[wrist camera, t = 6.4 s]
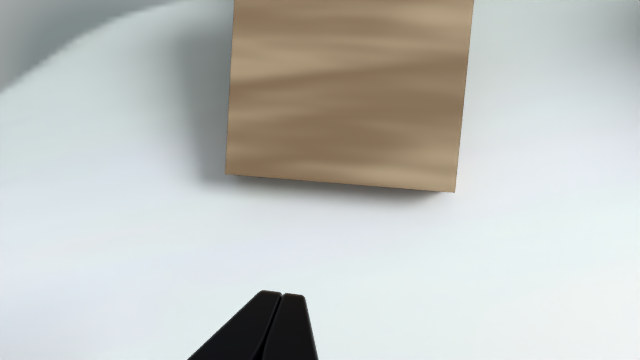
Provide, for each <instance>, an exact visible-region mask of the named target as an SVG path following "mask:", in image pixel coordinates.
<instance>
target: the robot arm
mask: <svg viewBox="0 0 640 360" xmlns="http://www.w3.org/2000/svg"><path fill="white" fill-rule="evenodd" d="M187 360H318V355H317V351H316V346H315V341H314V337H313V332H312V327H311V323H310V318H309V314H308V309H307V304H306V300H305V297H304V296H303V295H298V294H290V293H285V294H284V295H282V294H281V293H280V292H274V291H266V290H262V291H260V292H259V293H257V294H256V295H255V296H254V297H253V298H252V299H251V300H250V301H249V302H248V303H247V304H246V305H245V306H244V307H243V308H242V309H240V310H239V311H238V312H237V313H236V314H235V315H234V316H233V317H232V318H231V319H230V320H229V321H228V322H227V323H226V324H225V325H223V326H222V327H221V328H220V329H219V330H218V331H217V332H216V333H215V334H214V335H213V336H212V337H211V338H210V339H209V340H208V341H206V342H205V343H204V344H203V345H202V346H201V347H200V348H199V349H198V350H197V351H196V352H195V353H194V354H193V355H192V356H191V357H189V358H188V359H187Z"/></svg>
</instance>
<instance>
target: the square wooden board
mask: <svg viewBox="0 0 640 360" xmlns="http://www.w3.org/2000/svg"><path fill="white" fill-rule="evenodd" d="M473 4H474V0H234V17H233V36H232V54H231V73H230V92H229V110H228V129H227V148H226V166H225V174H231V175H243V176H255V177H268V178H280V179H293V180H305V181H317V182H330V183H342V184H355V185H367V186H379V187H392V188H404V189H417V190H429V191H441V192H454V193H455V186H456V176H457V166H458V156H459V146H460V136H461V126H462V115H463V105H464V95H465V85H466V75H467V65H468V55H469V45H470V34H471V24H472V14H473Z"/></svg>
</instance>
